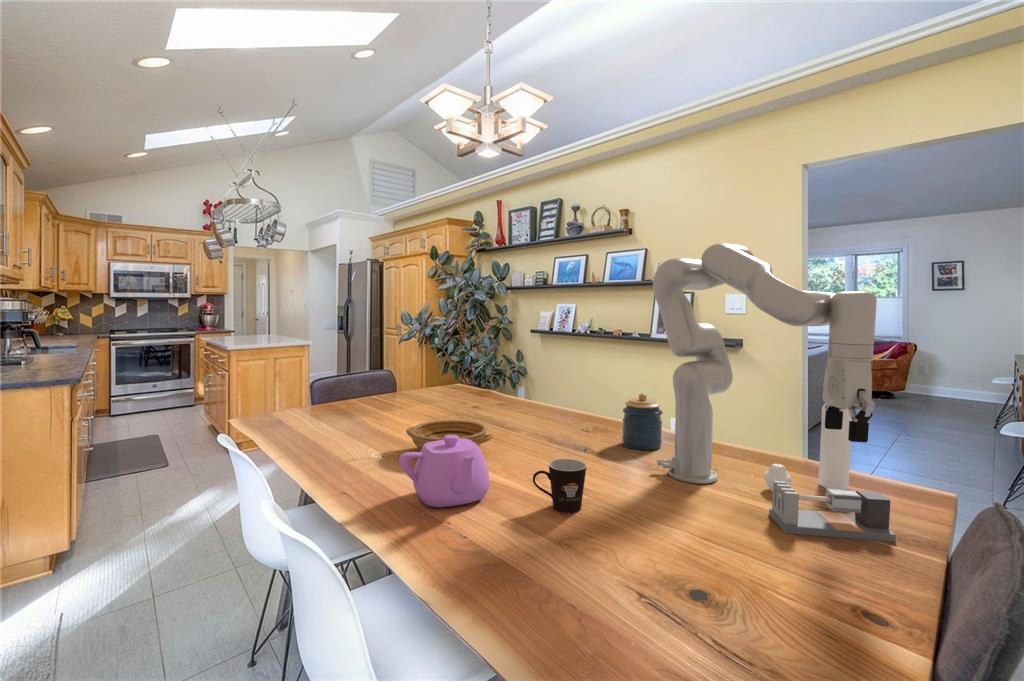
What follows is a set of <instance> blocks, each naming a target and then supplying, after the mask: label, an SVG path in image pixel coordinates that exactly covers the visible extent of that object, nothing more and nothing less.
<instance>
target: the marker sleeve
mask: <svg viewBox="0 0 1024 681" xmlns="http://www.w3.org/2000/svg"><path fill="white" fill-rule="evenodd" d="M824 497H832V502H824V505H826V506H827V508H829V509H831V511H832V512H839V513H853V514H855V513H861V496H860V495H858V494H857V493H856V491H854V490H852V489H848V490H844V489H829V488H825V496H824Z"/></svg>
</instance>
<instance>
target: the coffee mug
mask: <svg viewBox="0 0 1024 681" xmlns="http://www.w3.org/2000/svg"><path fill="white" fill-rule="evenodd" d="M548 470H549V471H545V470H538V471H536V472H534V474H533V477H532V482H533V484H534V486H535V487H536V488H537V489H538V490H539V491H541V492H543V493H544V494H545V495H547V496H549V497H550V498H551V500H552V508H553V509H554V510H555V511H556V512H558V513H562V514H575V513H578V512H580V511H581V509H582V504H583V503H582V502H583V495H584V488H585V483H586V482H585V481H586V480H585V479H586V475H587V474H586V473H587V463H585V462H583V461H581V460H578V459H573V458H558V459H553V460H551V461H549V462H548ZM540 474H544V475H546V477H547V478H548V480H549V481H550V489H551V493H550V492H549V491H547V490H545V489H544V488H543V487H541V486H539V485H538V484H537V483H536V477H537V476H538V475H540Z"/></svg>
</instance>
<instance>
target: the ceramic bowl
mask: <svg viewBox="0 0 1024 681" xmlns="http://www.w3.org/2000/svg"><path fill="white" fill-rule="evenodd" d="M487 431H488V427H487V426H486V425H485V424H482V423H480V422H477V421H470V420H464V419H463V420H461V419H444V420H442V419H441V420H434V421H433V420H432V421H428V422H423V423H420V424H417V425H415V426H410V427H408V428H407V429H406V434H407V435H408V436H409V437H410V438H411V440H412V443H413V444H414V445H415V446H416V447H417V448H418V449H420V450H421V449H422V447H423V445H424V444H425V443H428V442H433V441H438V440H444V439H443V437H444V436H446V435H457V436H459V438H458V439H469V440H471V441H473V442H474V443H476V444H477V445H478V446H479V447H480V446H481V444H484V443H487V442H490V440H492V439H493V438H494V435H493V434H492V433H490V434H487ZM486 434H487V435H486Z"/></svg>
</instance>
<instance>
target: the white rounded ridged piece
mask: <svg viewBox="0 0 1024 681" xmlns="http://www.w3.org/2000/svg"><path fill="white" fill-rule="evenodd" d="M763 478H764V481H765V482H766V485H767V487H768V488H769V489H768V490H769V491H771V492H773V481H784V482H786V483H787V485H790V486H791V483H792V480H793V479H792V476H791V475H790V474H789V472H788V471H787V467H785V465H783V464H780V463H772V464H771V465H769V468H768V470H766V471H765V472H764V473H763Z"/></svg>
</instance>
